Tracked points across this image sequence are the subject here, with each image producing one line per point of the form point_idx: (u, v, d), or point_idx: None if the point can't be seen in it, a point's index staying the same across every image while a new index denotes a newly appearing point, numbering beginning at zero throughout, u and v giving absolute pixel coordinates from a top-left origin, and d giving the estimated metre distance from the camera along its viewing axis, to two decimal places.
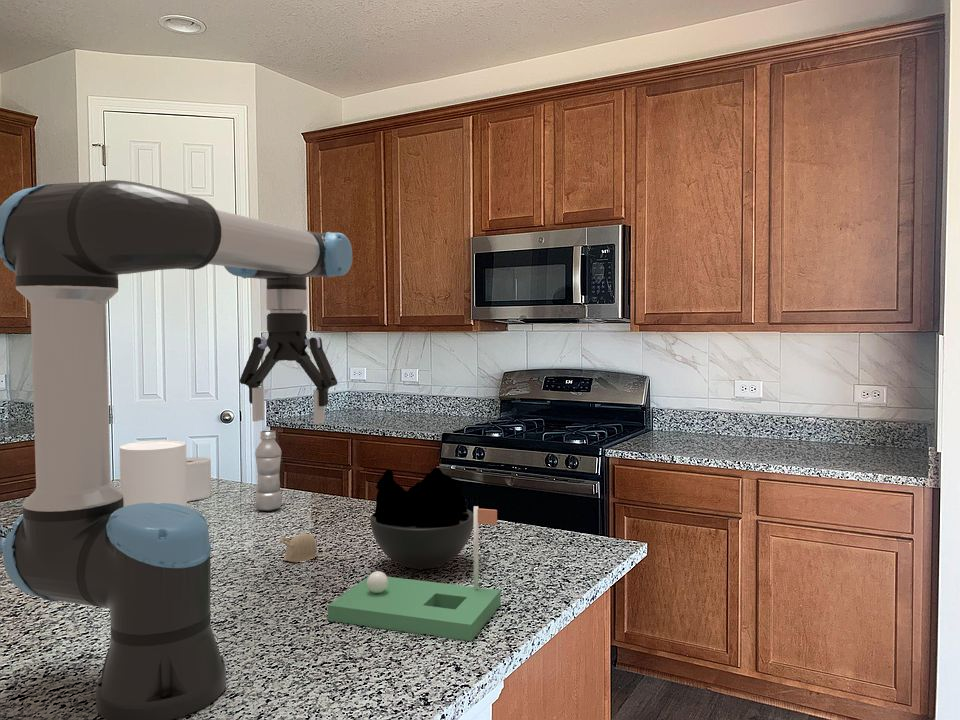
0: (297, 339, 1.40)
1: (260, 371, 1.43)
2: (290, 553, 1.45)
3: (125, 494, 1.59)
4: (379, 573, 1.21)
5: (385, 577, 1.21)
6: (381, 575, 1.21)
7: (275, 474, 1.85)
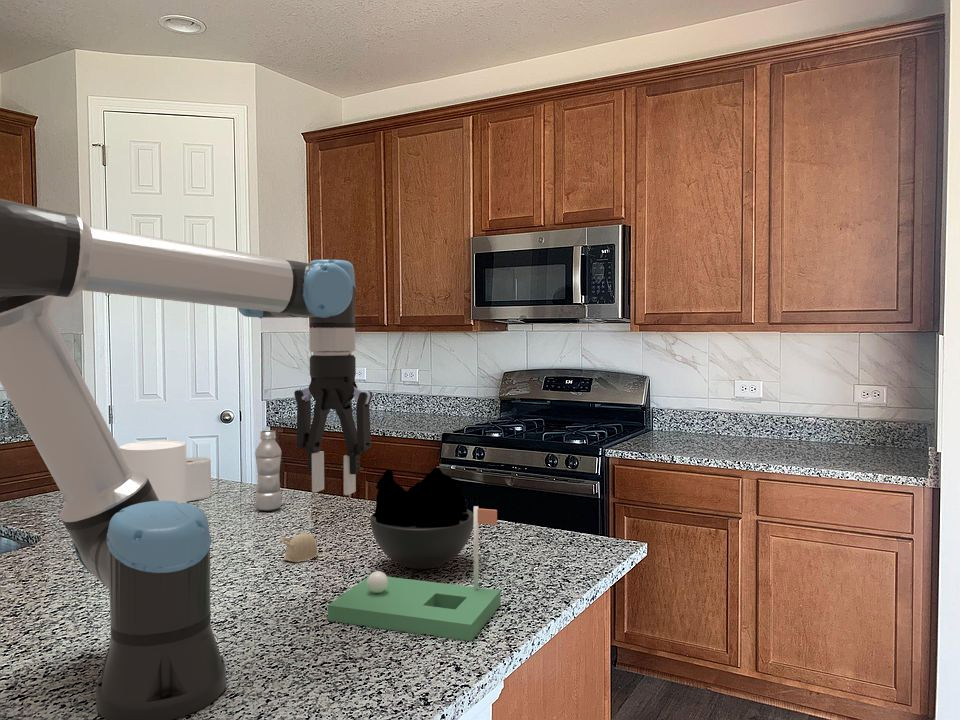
0: (346, 385, 1.21)
1: (314, 429, 1.23)
2: (290, 553, 1.45)
3: None
4: (379, 573, 1.21)
5: (385, 577, 1.21)
6: (381, 575, 1.21)
7: (275, 474, 1.85)
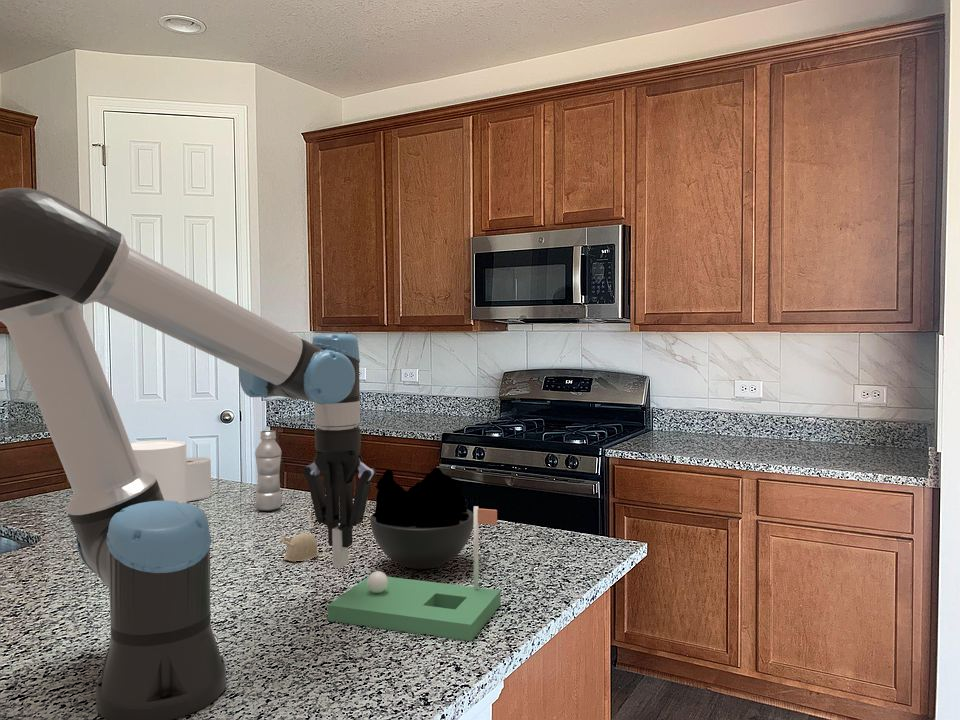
0: (353, 459, 1.21)
1: (329, 503, 1.23)
2: (290, 552, 1.45)
3: None
4: (379, 573, 1.21)
5: (385, 577, 1.21)
6: (381, 575, 1.21)
7: (275, 474, 1.85)
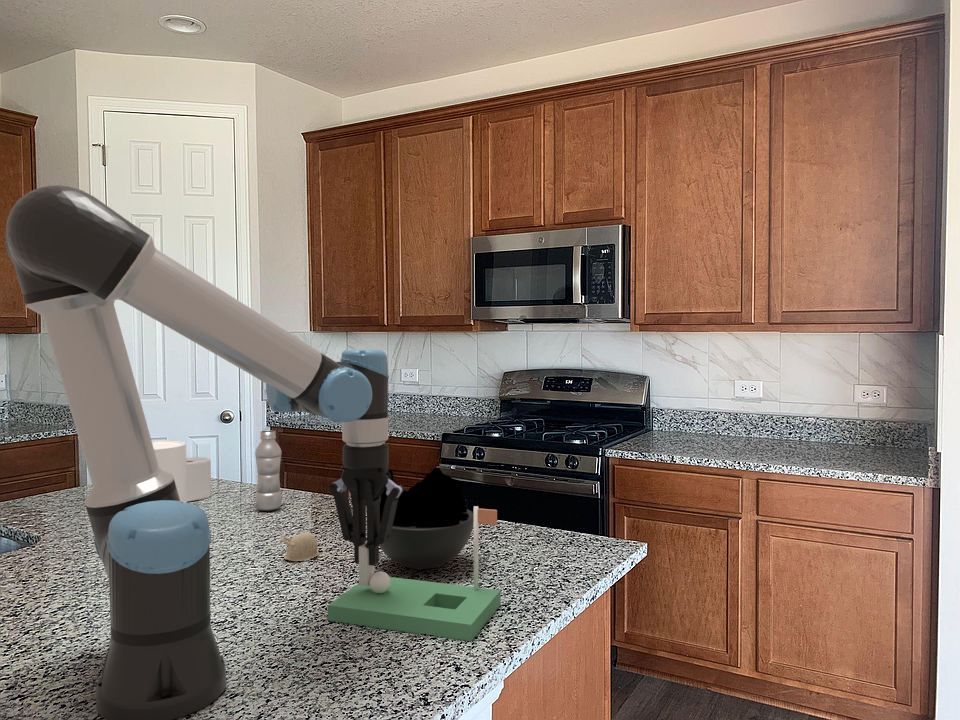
0: (381, 476, 1.20)
1: (356, 521, 1.21)
2: (290, 552, 1.45)
3: None
4: (383, 574, 1.21)
5: (388, 579, 1.21)
6: (385, 577, 1.21)
7: (275, 474, 1.85)
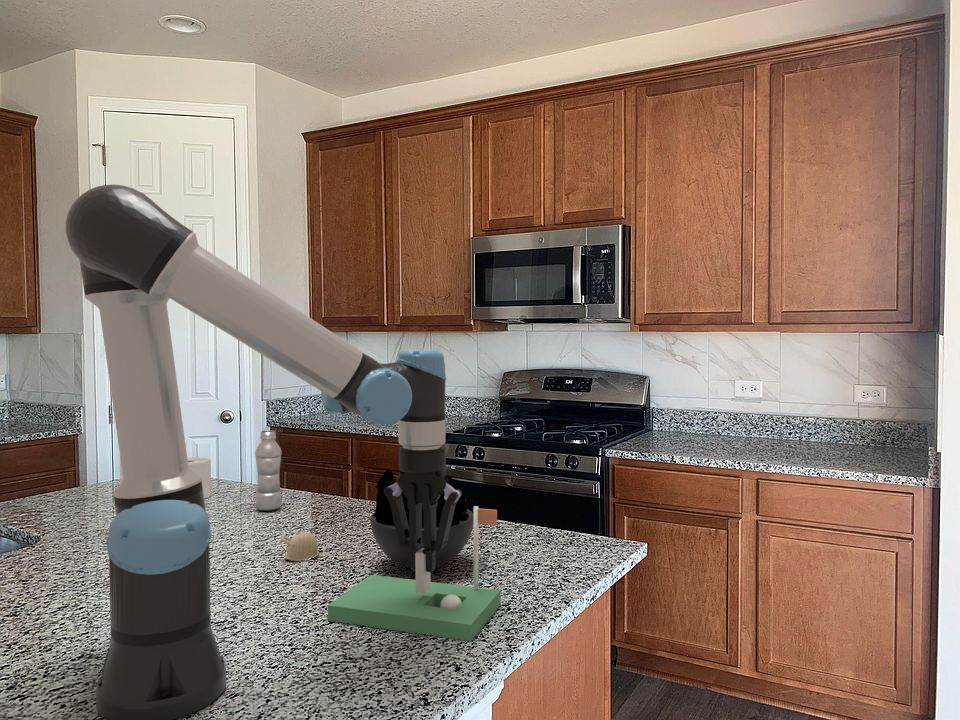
0: (439, 480, 1.17)
1: (413, 526, 1.18)
2: (291, 552, 1.46)
3: None
4: None
5: None
6: None
7: (275, 474, 1.85)
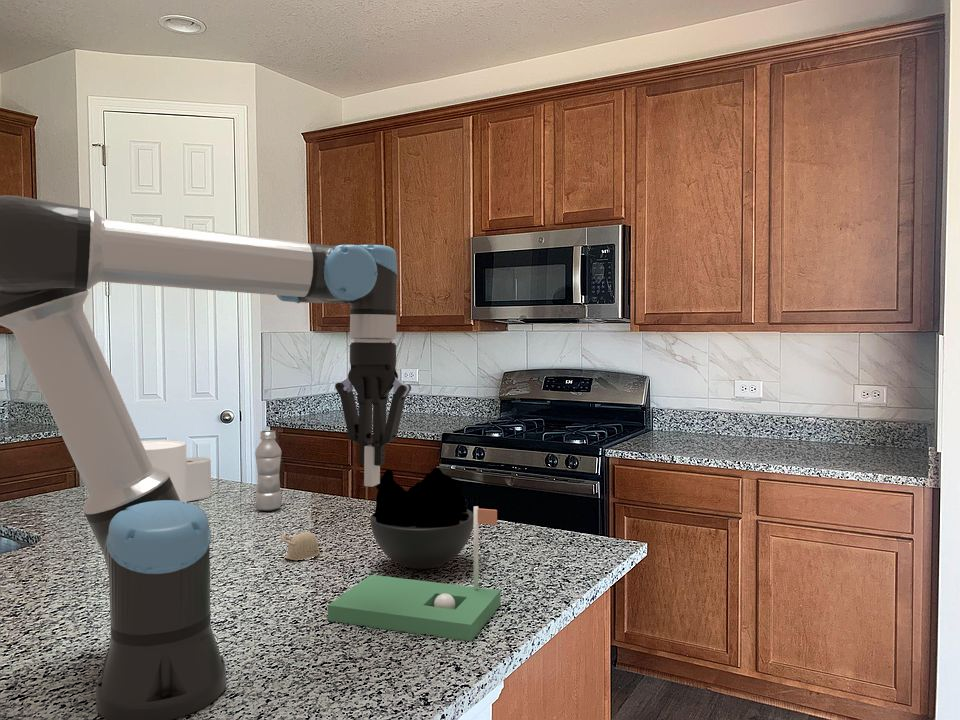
0: (388, 374, 1.18)
1: (362, 420, 1.20)
2: (291, 551, 1.46)
3: None
4: (452, 602, 1.18)
5: None
6: (452, 606, 1.18)
7: (275, 474, 1.85)
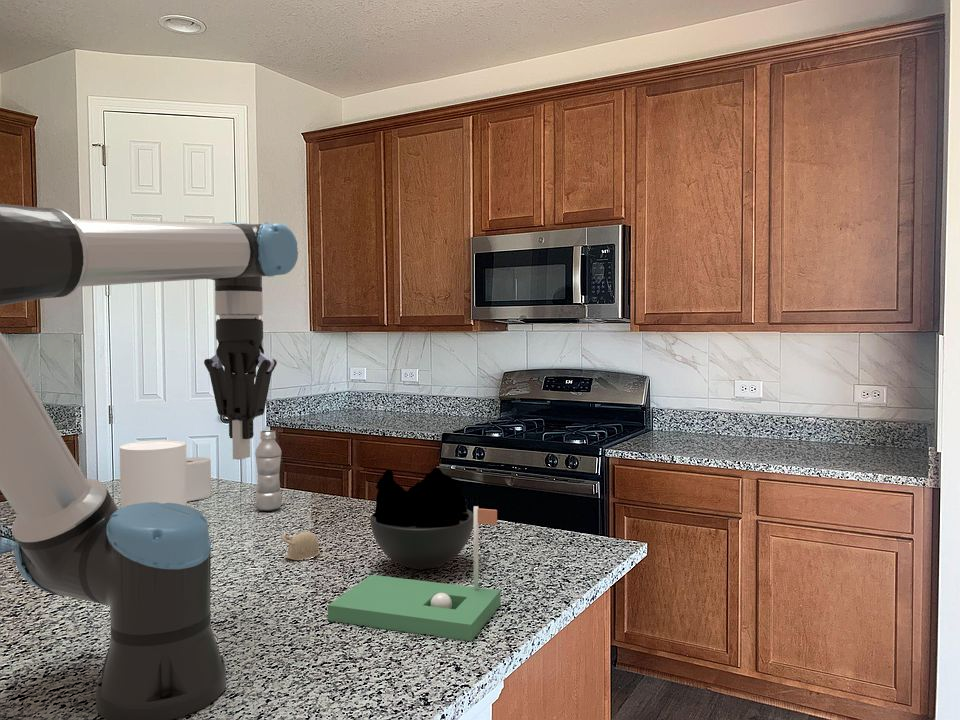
0: (252, 349, 1.21)
1: (230, 395, 1.23)
2: (291, 551, 1.46)
3: (126, 494, 1.59)
4: (447, 598, 1.18)
5: (450, 604, 1.18)
6: (448, 601, 1.18)
7: (275, 474, 1.85)
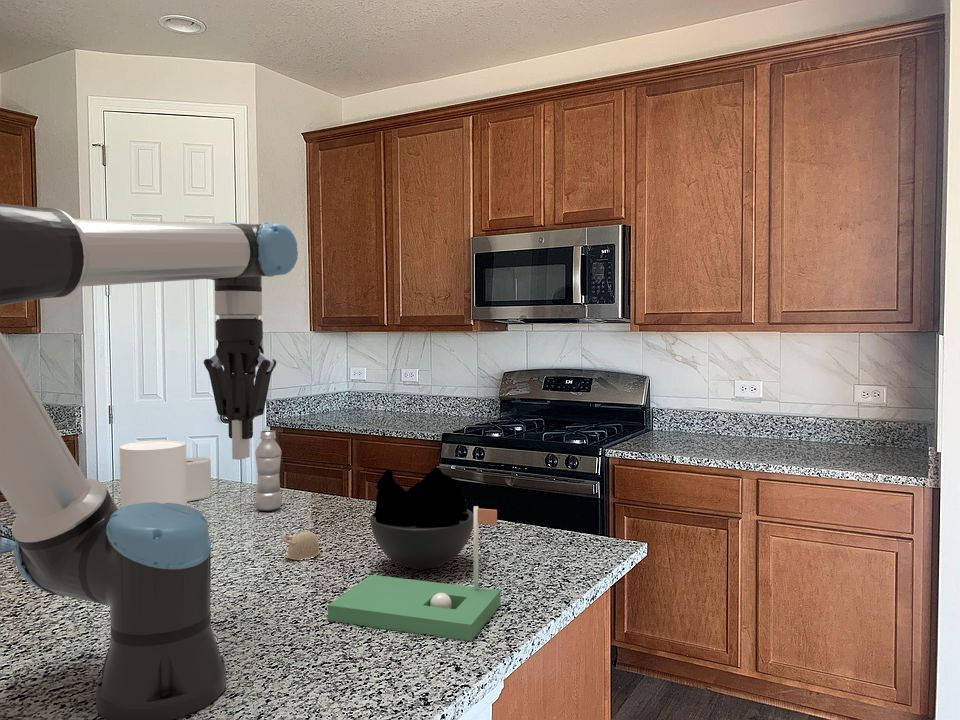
0: (252, 349, 1.21)
1: (230, 395, 1.23)
2: (291, 551, 1.46)
3: (125, 494, 1.59)
4: (447, 598, 1.18)
5: (450, 604, 1.18)
6: (448, 601, 1.18)
7: (275, 474, 1.85)
